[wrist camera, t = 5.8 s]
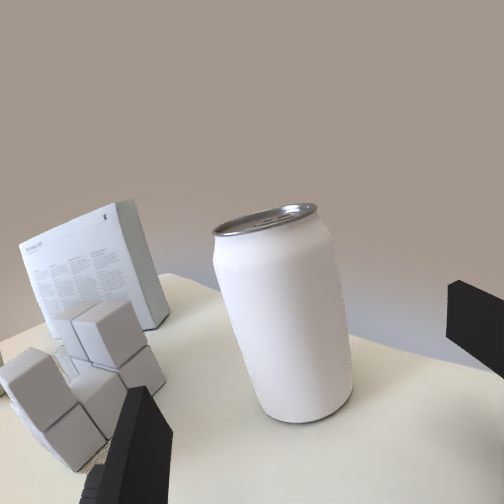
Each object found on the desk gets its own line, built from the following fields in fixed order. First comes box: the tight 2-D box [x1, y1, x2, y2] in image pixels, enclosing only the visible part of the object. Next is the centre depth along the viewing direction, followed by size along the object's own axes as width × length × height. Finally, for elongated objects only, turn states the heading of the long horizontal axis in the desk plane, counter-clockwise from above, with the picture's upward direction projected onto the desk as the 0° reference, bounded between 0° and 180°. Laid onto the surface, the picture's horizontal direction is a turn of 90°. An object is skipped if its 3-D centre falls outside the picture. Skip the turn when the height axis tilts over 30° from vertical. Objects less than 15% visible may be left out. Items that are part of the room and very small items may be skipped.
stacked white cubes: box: [0, 300, 166, 472], centre depth 20 cm, size 12×12×8 cm
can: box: [212, 203, 353, 423], centre depth 17 cm, size 6×6×12 cm
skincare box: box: [19, 199, 170, 339], centre depth 37 cm, size 21×5×16 cm, turn 83°
